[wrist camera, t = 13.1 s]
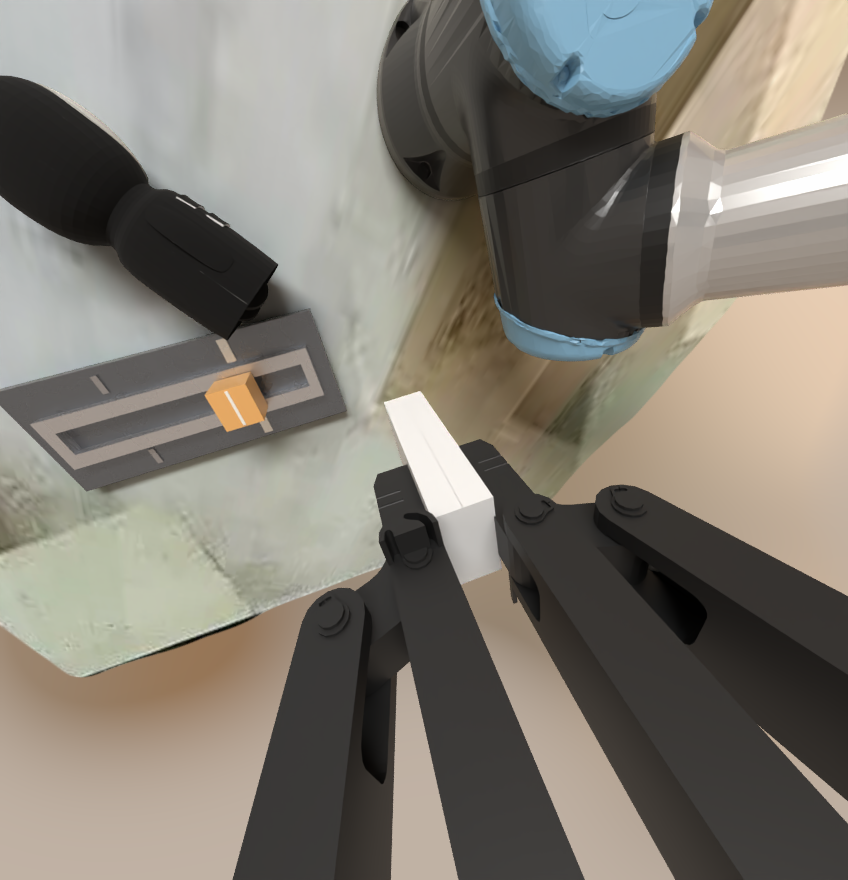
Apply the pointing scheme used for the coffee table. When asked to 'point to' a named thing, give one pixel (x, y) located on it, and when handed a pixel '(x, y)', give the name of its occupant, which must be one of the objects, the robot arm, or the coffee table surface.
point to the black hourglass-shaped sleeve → (123, 208)
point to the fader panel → (174, 400)
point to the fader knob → (237, 401)
